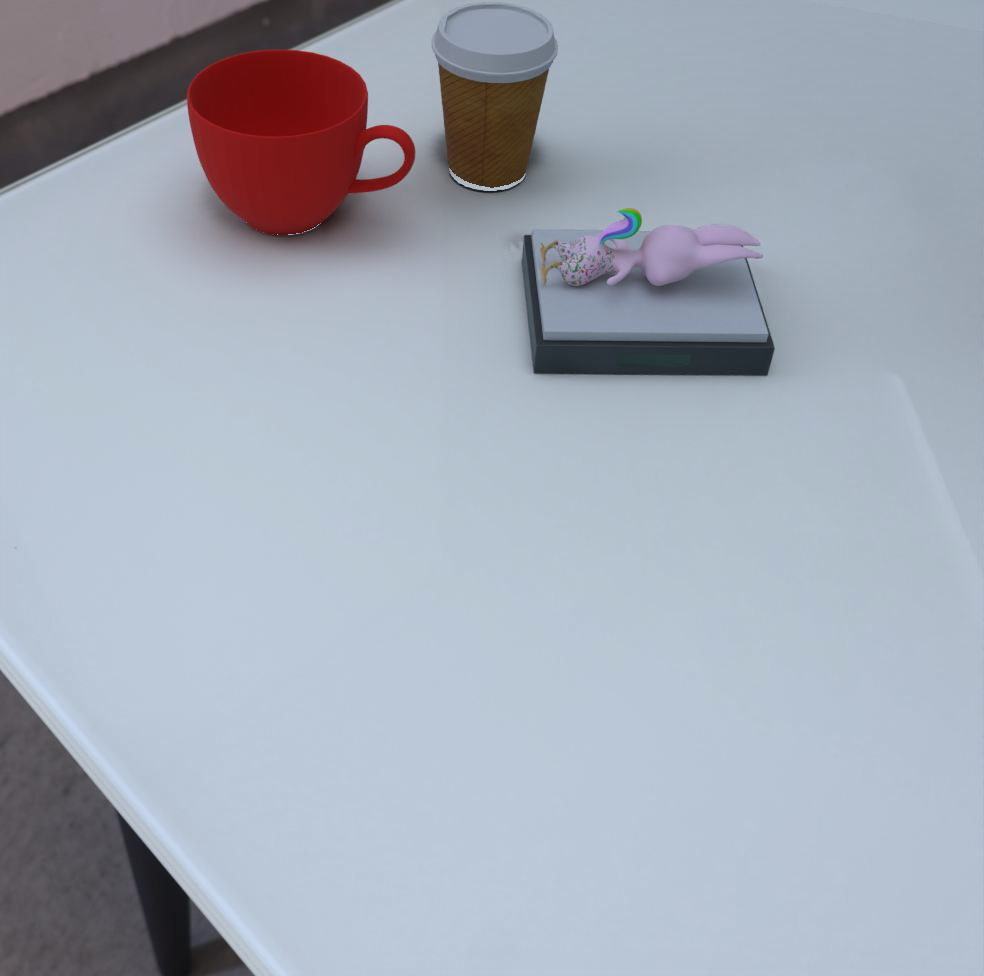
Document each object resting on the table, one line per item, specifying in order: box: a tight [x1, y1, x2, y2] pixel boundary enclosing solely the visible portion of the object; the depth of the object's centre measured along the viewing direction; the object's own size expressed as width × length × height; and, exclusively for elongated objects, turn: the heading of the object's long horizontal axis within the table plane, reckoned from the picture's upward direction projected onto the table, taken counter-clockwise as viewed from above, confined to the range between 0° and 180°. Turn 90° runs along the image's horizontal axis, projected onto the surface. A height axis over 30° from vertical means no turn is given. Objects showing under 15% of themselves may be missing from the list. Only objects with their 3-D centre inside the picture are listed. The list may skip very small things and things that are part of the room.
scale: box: [521, 228, 776, 376], centre depth 92 cm, size 16×13×3 cm
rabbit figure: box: [540, 207, 764, 286], centre depth 89 cm, size 6×6×15 cm
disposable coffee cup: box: [431, 1, 559, 188], centre depth 102 cm, size 10×10×12 cm
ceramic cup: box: [186, 48, 416, 236], centre depth 97 cm, size 13×17×10 cm
